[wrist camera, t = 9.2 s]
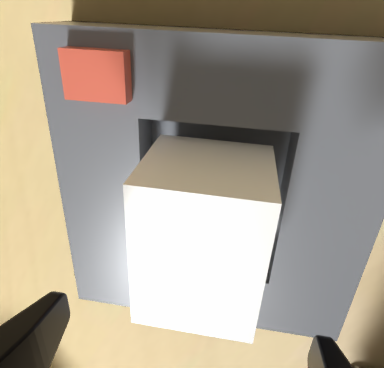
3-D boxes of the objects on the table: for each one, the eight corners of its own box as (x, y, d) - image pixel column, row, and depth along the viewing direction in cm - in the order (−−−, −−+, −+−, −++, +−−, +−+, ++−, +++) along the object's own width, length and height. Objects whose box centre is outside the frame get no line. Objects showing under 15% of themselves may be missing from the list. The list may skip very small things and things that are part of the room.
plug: (252, 242, 17) (252, 343, 12) (167, 230, 18) (131, 322, 12) (271, 133, 14) (282, 204, 9) (168, 123, 15) (122, 184, 10)
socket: (325, 296, 19) (339, 353, 16) (100, 263, 21) (73, 308, 18) (409, 38, 13) (462, 47, 9) (71, 20, 14) (18, 23, 11)
